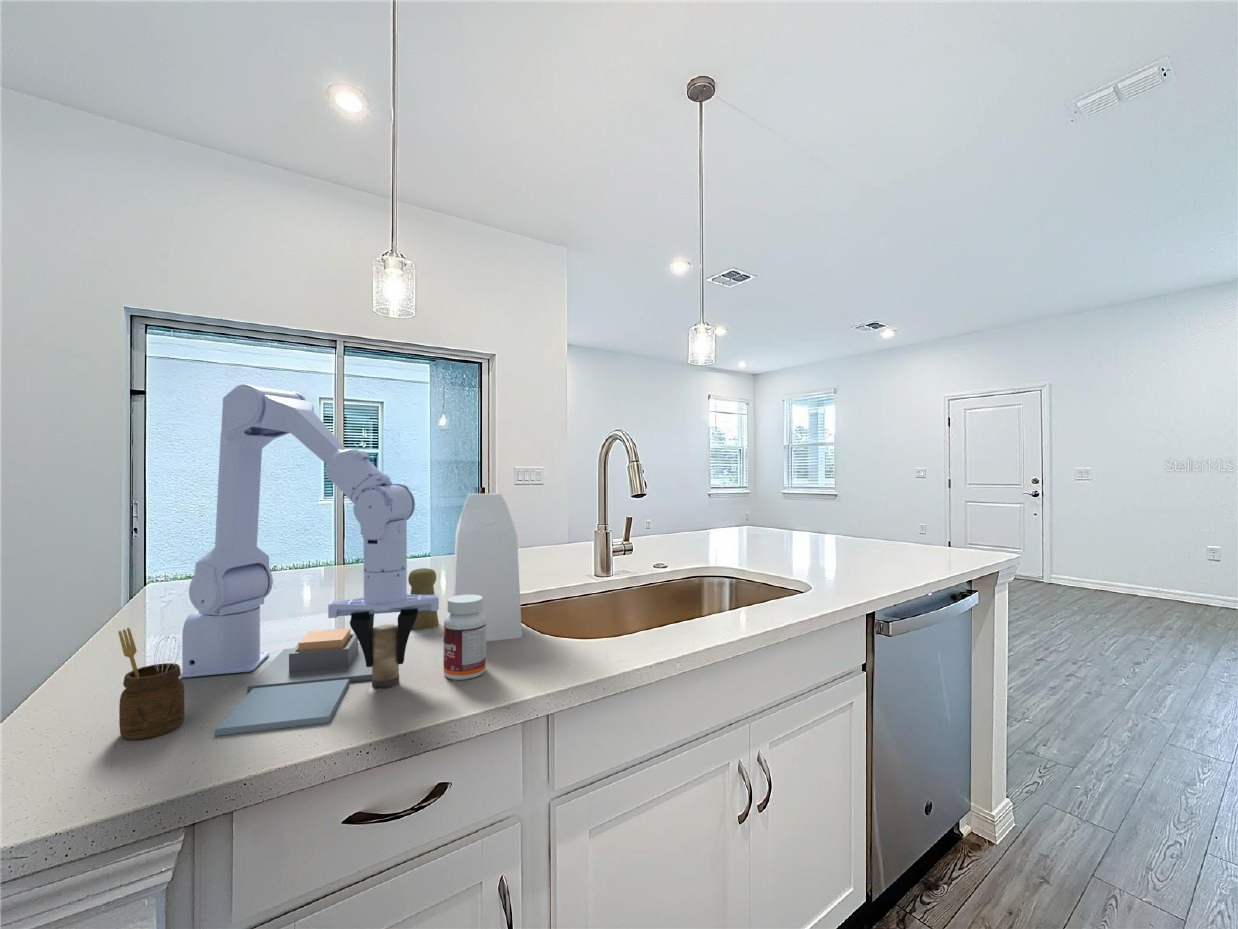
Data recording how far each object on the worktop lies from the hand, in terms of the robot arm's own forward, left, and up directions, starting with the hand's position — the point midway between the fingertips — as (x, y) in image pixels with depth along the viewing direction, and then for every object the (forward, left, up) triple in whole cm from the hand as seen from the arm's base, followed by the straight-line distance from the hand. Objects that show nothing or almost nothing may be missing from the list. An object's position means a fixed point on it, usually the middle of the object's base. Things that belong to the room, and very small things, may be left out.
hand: (385, 663), depth 79 cm
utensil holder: (-25, -7, -3) cm, 26 cm away
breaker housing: (-10, +10, -3) cm, 14 cm away
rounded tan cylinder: (0, 0, -3) cm, 3 cm away
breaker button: (-10, +10, 0) cm, 14 cm away
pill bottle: (+11, +1, -3) cm, 11 cm away
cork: (+3, +29, -3) cm, 29 cm away
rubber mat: (-11, -5, -3) cm, 12 cm away
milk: (+15, +21, -3) cm, 26 cm away
